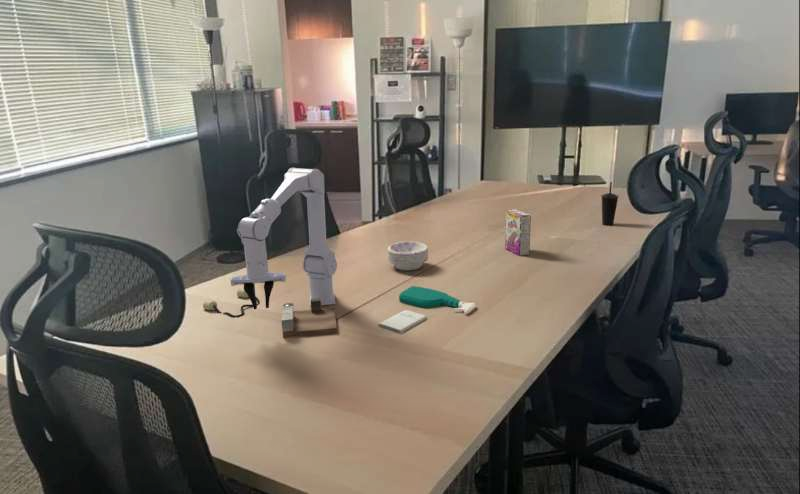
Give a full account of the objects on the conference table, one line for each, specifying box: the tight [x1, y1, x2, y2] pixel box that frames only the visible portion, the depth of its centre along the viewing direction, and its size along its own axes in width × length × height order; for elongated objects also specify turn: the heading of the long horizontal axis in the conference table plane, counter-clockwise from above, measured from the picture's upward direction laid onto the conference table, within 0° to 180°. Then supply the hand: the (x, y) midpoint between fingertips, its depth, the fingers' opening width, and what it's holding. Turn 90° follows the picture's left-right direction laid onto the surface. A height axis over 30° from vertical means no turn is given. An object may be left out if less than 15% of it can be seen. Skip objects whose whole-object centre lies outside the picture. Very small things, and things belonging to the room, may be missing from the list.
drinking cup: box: [600, 181, 619, 227], centre depth 262 cm, size 8×8×20 cm
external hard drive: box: [378, 309, 427, 334], centre depth 164 cm, size 2×8×12 cm
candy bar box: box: [504, 208, 532, 257], centre depth 225 cm, size 11×5×16 cm, turn 22°
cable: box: [202, 287, 261, 318], centre depth 180 cm, size 16×16×4 cm
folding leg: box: [281, 302, 295, 333], centre depth 162 cm, size 12×3×4 cm, turn 9°
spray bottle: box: [398, 285, 476, 315], centre depth 177 cm, size 3×11×24 cm
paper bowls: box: [387, 241, 429, 271], centre depth 212 cm, size 15×15×8 cm
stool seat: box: [282, 298, 338, 339], centre depth 164 cm, size 15×15×5 cm
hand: (261, 307), depth 156 cm, fingers open, 3 cm apart
